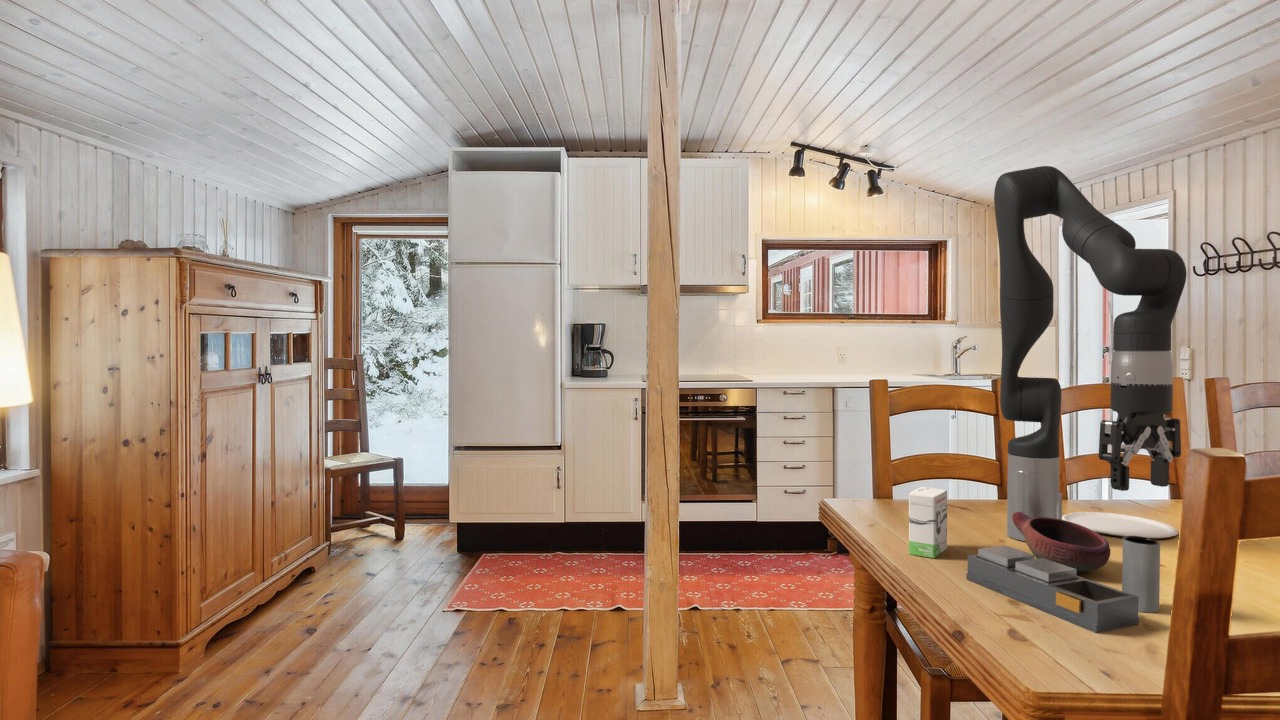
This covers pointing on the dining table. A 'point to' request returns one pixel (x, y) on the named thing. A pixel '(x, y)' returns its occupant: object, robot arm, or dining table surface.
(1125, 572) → the gray cylinder
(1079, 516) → the plate
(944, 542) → the ink box
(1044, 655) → the dining table surface
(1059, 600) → the grey compartment tray
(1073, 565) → the bowl
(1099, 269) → the robot arm
